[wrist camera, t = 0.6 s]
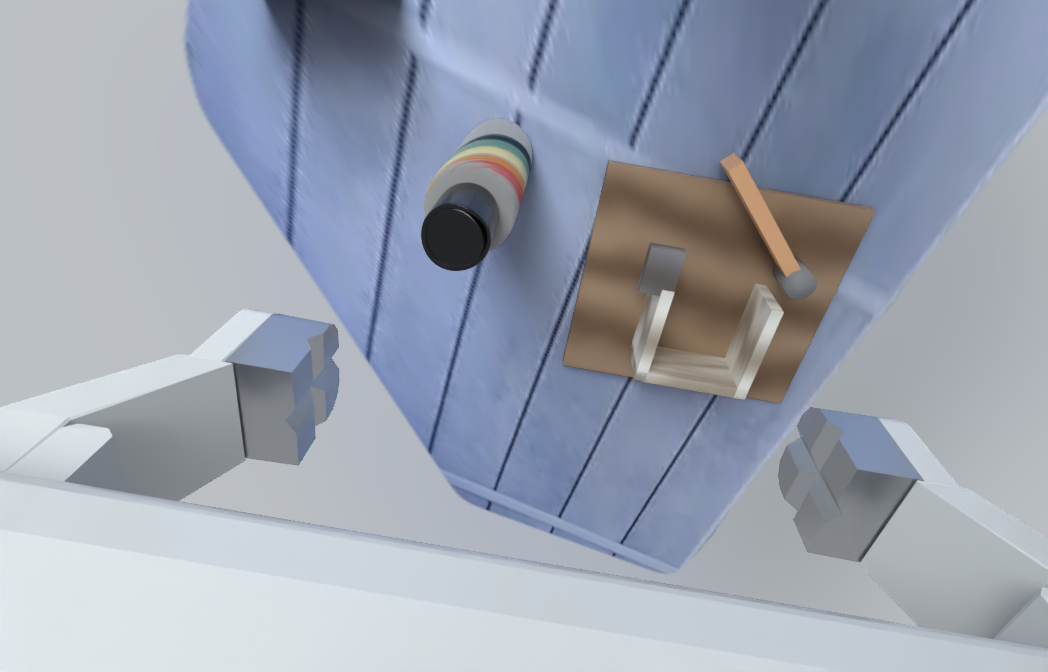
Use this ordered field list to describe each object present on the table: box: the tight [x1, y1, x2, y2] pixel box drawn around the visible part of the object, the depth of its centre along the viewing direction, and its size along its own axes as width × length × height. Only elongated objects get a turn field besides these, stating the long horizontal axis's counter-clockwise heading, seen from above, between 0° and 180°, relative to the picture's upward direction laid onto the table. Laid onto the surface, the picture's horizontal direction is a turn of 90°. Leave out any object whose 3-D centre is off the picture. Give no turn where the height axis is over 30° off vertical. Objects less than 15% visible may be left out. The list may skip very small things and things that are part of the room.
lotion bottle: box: [421, 119, 533, 271], centre depth 38 cm, size 6×6×20 cm
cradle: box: [563, 160, 876, 403], centre depth 49 cm, size 20×22×6 cm
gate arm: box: [720, 153, 817, 299], centre depth 45 cm, size 13×2×4 cm, turn 36°
